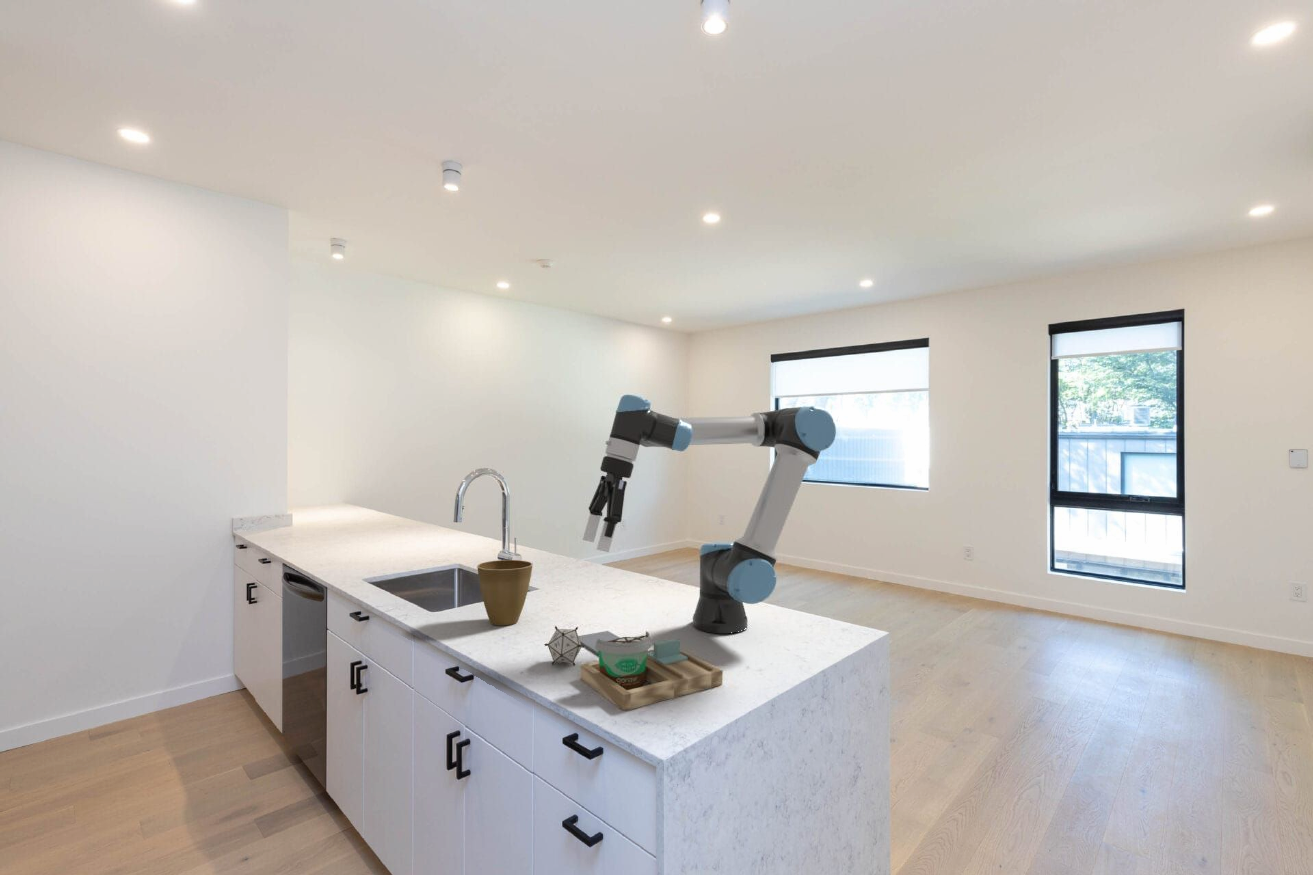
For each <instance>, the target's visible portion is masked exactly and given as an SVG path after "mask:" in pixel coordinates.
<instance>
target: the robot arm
mask: <svg viewBox="0 0 1313 875" xmlns="http://www.w3.org/2000/svg"><path fill="white" fill-rule="evenodd" d="M651 404H652V403H651V402H650V400H648V399H646V398H644V397H641V396H638V395H635V394H624V395H623V396H621V397H620V400H619V403H618V405H617V408H616V410H615V416H614V419H613V422H612V423H613V424H612V427H611V430H610V434H609V438H608V440H605V445H606V448H605V456H603V458H602V461H601V465H600V471H601V472H603V473H606V475H602V476H600V480H599V484H598V485H597V488H596V490H595V493H594V495H593V496H592V497H593V498H592V500H591V501H590V504H589V506H588V511H589V516H588V519H587V523H586V527H585V530H584V533H583V537H582V540H583V541H586V542H590V543H594V542H595V539H596V536H597V531H598V528H599V526H600V520H601V517H603V510H604V509H605V506H606V516H605V517H604V518H603V520H602V521H603V525H602V527H601V528H602V529H601V532H600V536H599V539H598V542H597V547H596V550H597V551H602V552H605V553H609V552H610V549H611V545H612V541H613V538H614V535H615V531H616V527H617V524H619V523H621V522H622V518H623V510H624V502H625V501H624V500H625V494H626V488H627V484H628V483H627V481H626V480H623V479H624V478H625V479H630V478H632V474H633V470H634V466H635V465H634V463H633V462H636V461H637V456H638V453H639V450H640V446H642V447H645V448H651V447H653V448H666V449H670V450H672V451H677V452H684V451H686V450H687V449H688V447H689V446H701V445H702V446H706V445H733V444H734V445H735V444H737V445H739V444H751V445H752V446H753V447H765V448H766V447H768V448H774V449H775V451H776V456H775V459H774V461H773V464H772V466H771V469H770V470H769V473H768V476H767V478H766V481H765V483H764V484H763V485H764V486H763V487H762V490H761V493H760V496H759V497H758V500H757V502H756V504H755V507H754V509H753V512H752V514H751V516H750V519H749V521H748V523H747V526H746V528H745V531H744V533H743V536H742V537H740V538H737V539H735V540H734V542H708V543H703V544H702V545H701V547H700V551H699V552H700V554H699V597H698V601H697V604H696V608H695V610H694V613H693V615H692V626H693V627H694V628H695V629H697V630H699V631H701V632H702V631H703V632H704V633H705V632H706V633H710V632H713V633H712V634H718V633H731V632H738V631H741V630H744V629H745V628H747V629H748V617H747V615H746V614H747V613H746V610H745V605H744V604H749V605H755V604H759V603H761V602H763V601H765V600H767V599H768V598H769V597H770V596H771V595H772V593H773V592H774V590H775V588H776V584H777V575H776V570H775V569H774V567H775V564H776V562H777V561H778V560H777V556H776V554H775V548H776V546H777V543H778V541H779V538H780V536H781V534H782V532H783V529H784V526H785V523H786V521H787V519H788V517H789V515H790V512H791V509H792V506H793V504H794V502H795V500H796V497H797V495H798V493H799V490H800V487H801V485H802V482H803V480H804V477H805V475H806V473H807V470H808V468H809V466H812V465H814V464H816V463H817V461H818V460H819V456H820V455H821V452H823V451H824V450H825V451H826V450H827V449H828V448H830V447H831V446H832V445H833V443H834V441H835V440H836V435H837V428H836V423H835V422H834V418H833V417H832V415H831V414H830V412H829V411H827V410H826V409H825V408H823V407H821V406H816V405H813V406H812V405H804V406H800V407H799V406H798V407H785V408H781V409H780V408H779V409H776V410H772V411H771V410H770V411H765V412H763V411H762V412H753V413H752V414H751V415H749V416H748V415H747V416H712V417H711V416H709V417H707V416H706V417H703V416H700V417H672V416H668V415H665V414H662V413H659V412H656V411H654V410H652V409H651ZM744 631H745V630H744ZM738 633H739V632H738ZM731 634H732V633H731Z"/></svg>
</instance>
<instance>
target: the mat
mask: <svg viewBox="0 0 1313 875" xmlns="http://www.w3.org/2000/svg"><path fill="white" fill-rule="evenodd" d="M578 637H579V640H580V643H581V645H584V646H585V647H584V648H586V649H587V650H589V651H591V652H593V653H594V654H595V655H598V656H599V653H598V650H597V649H595V646H596V641H598V638H599V639H601V640H603V641H611V640H615V639H618V638H621V637H620V636H618V635H616V634H614V633H612V632H611V631H609V630H604V631H600V632H593V633H588V634H581V635H578Z"/></svg>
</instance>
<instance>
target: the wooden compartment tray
mask: <svg viewBox="0 0 1313 875" xmlns="http://www.w3.org/2000/svg"><path fill="white" fill-rule="evenodd" d="M653 650H654V649H648V653H649V652H653ZM680 654H682V655H684V656H686V657H688V660H684V661H679V662H675V663H670V664H666V665H664V664H663V663H661V662H659V661H657V660H655V659H654V658H652V657H650V656H648V655H647V662H646V671H645V680H644V681H646V682H648V683H650V684H648V685H643V686H642V687H639V688H635V689H631V690H625V689H624V688H623V687H621V686H620V685H618V684H617V683H615V682H614V681H612V680H611V679H609V678H608V677H606V676H605V675H603V674H602V673H601V672H600V666H599V660H596V661H592V662H587V663H581V664H580V680H582V681H583V682H584V683H585V684H587V685H588V686H589V687H591V688H592V689H593V688H594V689H593V690H595V691H596V692H598V693H599V694H600V695H602V696H603V697H604V698H606V699H607V700H608V699H609V700H608V701H610V702H611V703H612V704H614V705H615V706H616V707H617V708H619V709H621V710H622V711H624V712H625V711H629V710H633V709H637V708H641V707H644V706H647V705H650V704H651V705H652V704H655V703H659V702H662V701H666V700H670V699H674V698H677V697H682V696H685V695H688V694H693V693H696V692H701V691H704V690H708V689H711V688H716V687H719V686H723V673H724V672H723V671H724V670H723V669H721V668H719V667H717V666H715V665H712V664H711V663H709V662H707V661H704V660H703V659H701V658H699V657H696V655H693V654H691V653H689V652H687V651H685V650H684V649H683V650H682V649H681V648H680Z"/></svg>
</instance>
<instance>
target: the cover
mask: <svg viewBox="0 0 1313 875" xmlns="http://www.w3.org/2000/svg"><path fill="white" fill-rule="evenodd" d="M680 647H681V640H680V639H678V638H673V639H672V638H670V639H668V640H667V639H666V640H662V641H657V642H653V649H652V650H653V652H649V653H647V655H648V656H650V657H652V658H654V659H655V660H657V661H659V662H661V663H663V664H664V665H666V664H670V663H675V662H679V661H684V660H688V657H686V656H684V655H682V654H680V649H681V648H680Z"/></svg>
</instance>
